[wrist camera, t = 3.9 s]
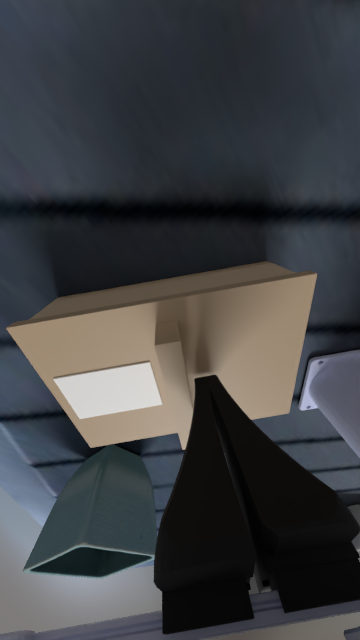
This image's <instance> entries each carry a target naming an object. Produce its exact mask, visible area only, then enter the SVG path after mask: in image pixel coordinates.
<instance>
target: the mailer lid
mask: <svg viewBox="0 0 360 640" xmlns="http://www.w3.org/2000/svg"><path fill="white" fill-rule="evenodd" d="M316 278H317V273H315V272H312V271H305V272H299V273H293V274H287V275H282V276H276V277H270V278H265V279H259V280H253V281H248V282H242V283H236V284H230V285H225V286H219V287H213V288H208V289H202V290H196V291H190V292H185V293H179V294H173V295H168V296H162V297H156V298H150V299H145V300H139V301H133V302H128V303H122V304H116V305H110V306H105V307H99V308H93V309H88V310H82V311H76V312H71V313H65V314H59V315H53V316H48V317H42V318H36V319H31V320H25V321H19V322H14V323H12V324H11V325H10V326H8V327H7V328H6V329H7V330H8V332H9V333H10V334H11V336H12V337H13V339H14V340H15V341H16V343H17V344H18V346H19V347H20V349H21V350H22V351H23V353H24V354H25V356H26V357H27V358H28V360H29V361H30V363H31V364H32V366H33V367H34V368H35V370H36V371H37V373H38V374H39V375H40V377H41V378H42V380H43V381H44V383H45V384H46V385H47V387H48V388H49V390H50V391H51V392H52V394H53V395H54V397H55V398H56V400H57V401H58V402H59V404H60V405H61V407H62V408H63V409H64V411H65V412H66V414H67V415H68V417H69V418H70V419H71V421H72V422H73V424H74V425H75V426H76V428H77V429H78V431H79V432H80V433H81V435H82V436H83V438H84V439H85V441H86V442H87V443H88V445H89V446H90V448H93V447H99V446H105V445H111V444H116V443H122V442H128V441H133V440H139V439H145V438H150V437H156V436H162V435H168V434H173V433H178V434H179V438H180V442H181V445H182V449H183V450H184V449H186V445H187V441H188V437H189V432H190V428H191V422H192V416H193V409H194V400H195V382H194V379H195V378H198V377H204V376H210V375H217V376H218V378H219V380H220V381H221V383H222V384H223V386H224V387H225V389H226V390H227V391H228V393H229V394H230V396H231V397H232V398H233V399H234V401H235V402H236V403H237V404H238V406H239V407H240V408H241V409H242V410H243V411H244V413H245V414H246V415H247V416H248V417H249V418H250V419H251V420H253V419H259V418H264V417H270V416H276V415H281V414H287V413H289V411H290V406H291V401H292V396H293V391H294V386H295V381H296V376H297V371H298V366H299V361H300V356H301V352H302V347H303V342H304V337H305V332H306V327H307V322H308V317H309V312H310V307H311V302H312V298H313V293H314V288H315V283H316Z"/></svg>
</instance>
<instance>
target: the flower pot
mask: <svg viewBox="0 0 360 640" xmlns="http://www.w3.org/2000/svg"><path fill="white" fill-rule="evenodd" d="M156 542H157V530H156V516H155V503H154V493H153V488H152V483H151V479H150V476H149V474H148V471H147V469H146V467H145V465H144V463H143V461H142V459H141V457H140V456H138V455H136V454H134V453H131V452H129V451H127V450H124V449H122V448H120V447H118V446H116V445H113V444H111V445H108V446H106V447H105V448H103V449H102V450H100V451H99V452H97V453H96V454H94V455H93V456H91V457H90V458H88V459H87V460H86V461H85V462H84V463H83V464H82V465H81V466H80V468H79V469H78V470H77V471H76V472H75V474H74V475H73V476H72V477H71V479H70V480H69V481H68V483H67V484H66V486H65V487H64V489H63V490H62V492H61V494H60V495H59V497H58V499H57V500H56V502H55V504H54V506H53V508H52V510H51V512H50V514H49V516H48V518H47V521H46V523H45V525H44V527H43V529H42V531H41V533H40V535H39V538H38V540H37V542H36V544H35V546H34V548H33V550H32V552H31V554H30V557H29V559H28V561H27V563H26V565H25V567H24V569H23V572H25V573H34V574H44V575H59V576H72V577H85V578H105V577H109V576H111V575H113V574H116V573H119V572H122V571H124V570H127V569H130V568H133V567H135V566H138V565H141V564H143V563H146V562H149V561H151V560H154V557H155V548H156Z"/></svg>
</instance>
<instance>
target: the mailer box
mask: <svg viewBox="0 0 360 640" xmlns="http://www.w3.org/2000/svg"><path fill="white" fill-rule="evenodd" d="M293 273H295V272H293V271H290V270H288V269H285V268H283V267H280V266H278V265H276V264H273V263H271V262H268V261H264V262H258V263H253V264H247V265H241V266H236V267H230V268H224V269H219V270H213V271H207V272H201V273H196V274H190V275H184V276H179V277H173V278H167V279H161V280H156V281H150V282H144V283H139V284H133V285H127V286H121V287H116V288H110V289H104V290H99V291H93V292H87V293H81V294H76V295H70V296H64V297H59V298H57V299H56V300H54V301H53V302H52V303H50V304H49V305H48V306H46V307H45V308H44V309H43V310H41V311H40V312H39V313H37V314H36V315H35V316H33V317H32V318H31V319H36V318H42V317H48V316H53V315H59V314H65V313H71V312H76V311H82V310H88V309H93V308H99V307H105V306H110V305H116V304H122V303H128V302H133V301H139V300H145V299H150V298H156V297H162V296H168V295H173V294H179V293H185V292H190V291H196V290H202V289H208V288H213V287H219V286H225V285H230V284H236V283H242V282H248V281H253V280H259V279H265V278H270V277H276V276H282V275H287V274H293ZM31 319H30V320H31Z"/></svg>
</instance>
